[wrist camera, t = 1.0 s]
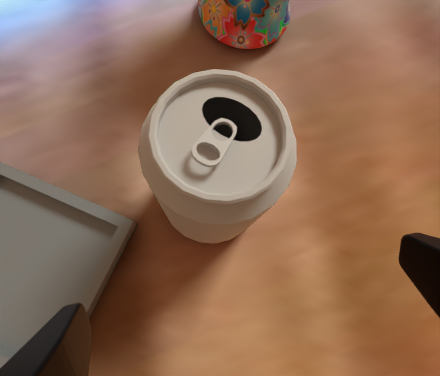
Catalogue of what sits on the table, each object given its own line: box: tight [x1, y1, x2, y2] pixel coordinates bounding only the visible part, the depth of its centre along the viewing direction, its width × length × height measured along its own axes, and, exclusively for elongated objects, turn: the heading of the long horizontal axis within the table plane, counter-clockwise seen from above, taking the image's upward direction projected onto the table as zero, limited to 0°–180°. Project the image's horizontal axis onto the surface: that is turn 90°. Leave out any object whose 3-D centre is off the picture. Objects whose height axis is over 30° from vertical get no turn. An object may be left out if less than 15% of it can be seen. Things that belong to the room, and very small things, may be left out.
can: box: [138, 69, 296, 243], centre depth 19 cm, size 8×8×12 cm
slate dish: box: [0, 162, 137, 368], centre depth 21 cm, size 12×12×2 cm
